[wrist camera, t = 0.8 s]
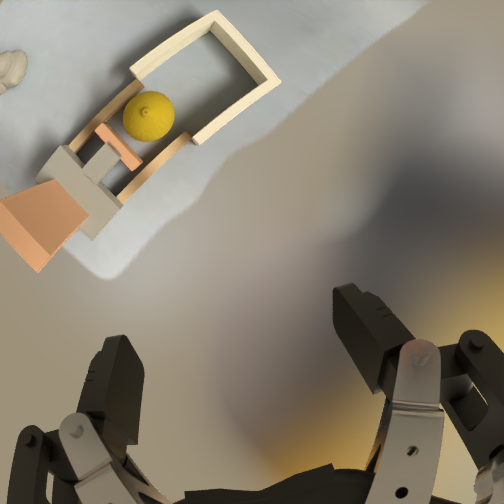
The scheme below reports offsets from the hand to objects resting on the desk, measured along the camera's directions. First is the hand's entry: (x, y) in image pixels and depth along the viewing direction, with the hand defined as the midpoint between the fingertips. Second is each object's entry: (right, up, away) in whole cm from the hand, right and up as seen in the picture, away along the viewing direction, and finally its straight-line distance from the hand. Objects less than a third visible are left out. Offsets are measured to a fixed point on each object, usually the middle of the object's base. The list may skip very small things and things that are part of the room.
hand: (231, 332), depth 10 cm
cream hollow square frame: (-5, +23, +19) cm, 30 cm away
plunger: (-18, +12, +19) cm, 28 cm away
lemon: (-11, +19, +19) cm, 29 cm away
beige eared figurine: (-30, +26, +10) cm, 41 cm away
